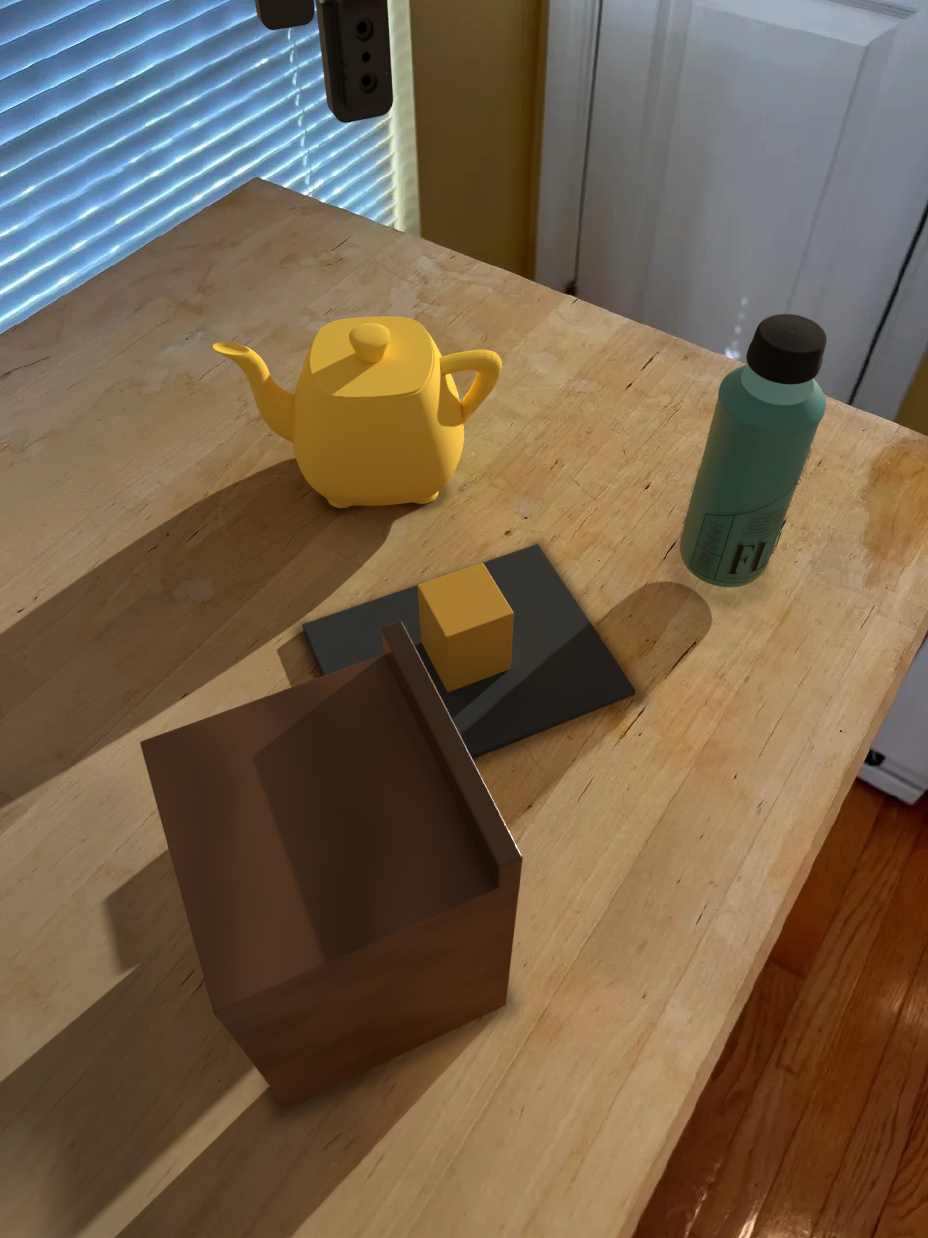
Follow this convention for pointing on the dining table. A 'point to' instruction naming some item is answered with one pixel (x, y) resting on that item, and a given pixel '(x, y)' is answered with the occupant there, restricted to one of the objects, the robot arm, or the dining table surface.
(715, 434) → the beverage bottle
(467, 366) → the teapot
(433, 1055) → the dining table surface
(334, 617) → the slate mat
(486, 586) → the yellow block
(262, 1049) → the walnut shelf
